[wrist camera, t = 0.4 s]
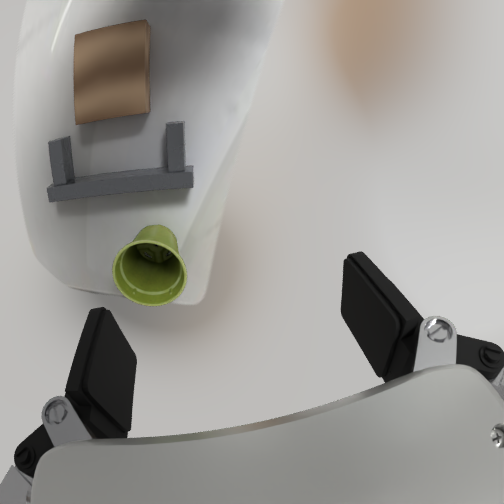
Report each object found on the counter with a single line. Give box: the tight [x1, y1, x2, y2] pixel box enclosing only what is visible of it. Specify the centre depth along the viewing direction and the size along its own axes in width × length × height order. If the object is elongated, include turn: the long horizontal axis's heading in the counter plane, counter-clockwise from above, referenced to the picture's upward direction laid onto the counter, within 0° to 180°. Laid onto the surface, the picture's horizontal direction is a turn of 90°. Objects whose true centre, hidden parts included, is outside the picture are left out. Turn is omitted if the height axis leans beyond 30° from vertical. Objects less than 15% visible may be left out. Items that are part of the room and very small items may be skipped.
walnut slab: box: [74, 20, 150, 125], centre depth 27 cm, size 12×9×4 cm
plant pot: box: [112, 225, 187, 306], centre depth 37 cm, size 9×9×9 cm
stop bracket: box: [47, 121, 194, 202], centre depth 32 cm, size 8×20×4 cm, turn 88°
